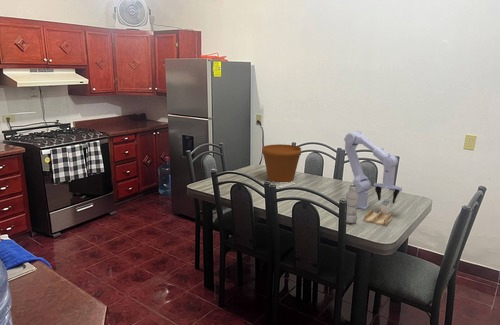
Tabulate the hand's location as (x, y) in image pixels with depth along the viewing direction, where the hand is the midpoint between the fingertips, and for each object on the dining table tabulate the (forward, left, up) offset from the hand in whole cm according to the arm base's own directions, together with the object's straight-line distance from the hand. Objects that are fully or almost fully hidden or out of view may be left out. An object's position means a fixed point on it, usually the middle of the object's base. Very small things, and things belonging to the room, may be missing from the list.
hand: (386, 201), depth 200 cm
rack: (-1, -11, -7) cm, 13 cm away
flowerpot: (-81, +26, -8) cm, 85 cm away
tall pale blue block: (0, 0, -7) cm, 7 cm away
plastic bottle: (-12, -23, -8) cm, 27 cm away
